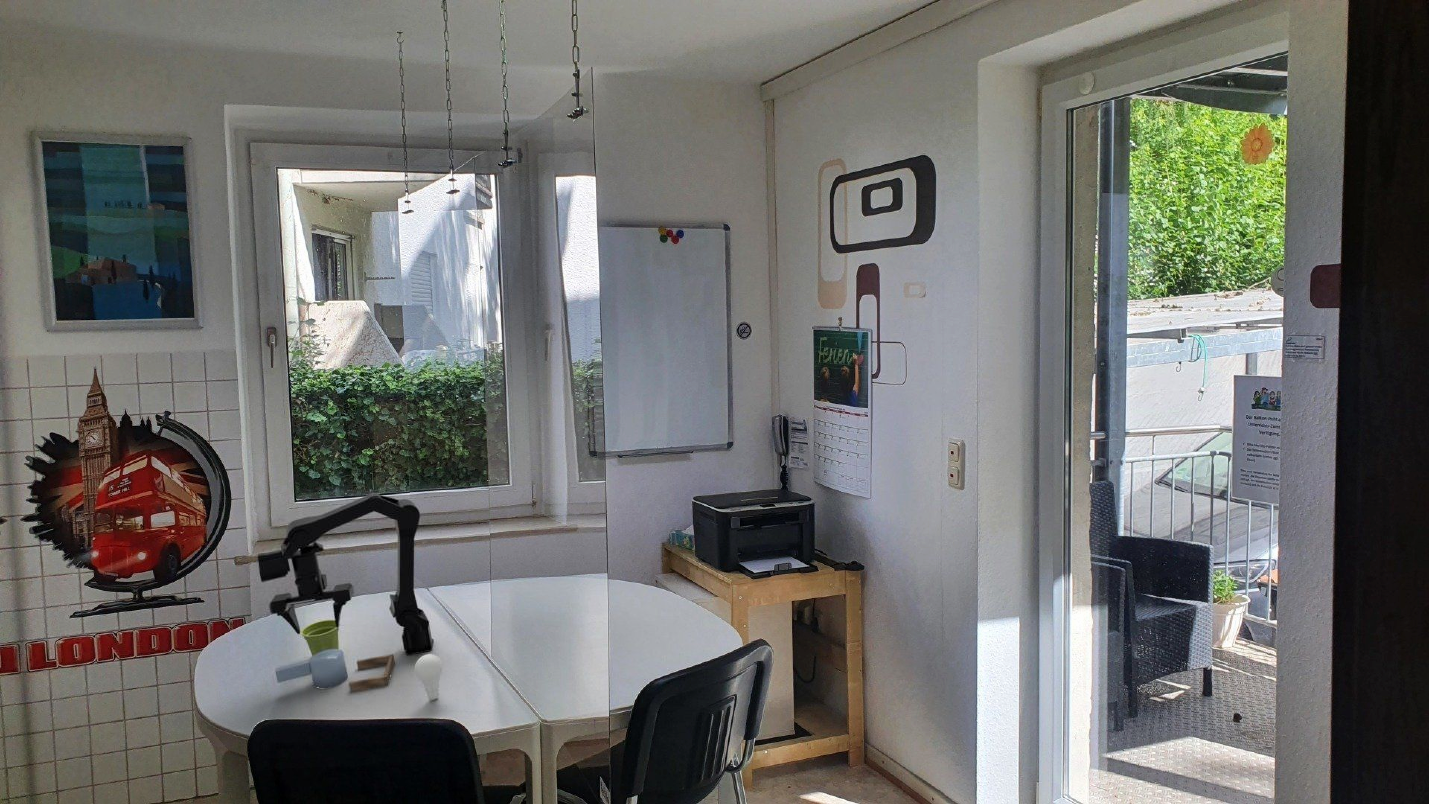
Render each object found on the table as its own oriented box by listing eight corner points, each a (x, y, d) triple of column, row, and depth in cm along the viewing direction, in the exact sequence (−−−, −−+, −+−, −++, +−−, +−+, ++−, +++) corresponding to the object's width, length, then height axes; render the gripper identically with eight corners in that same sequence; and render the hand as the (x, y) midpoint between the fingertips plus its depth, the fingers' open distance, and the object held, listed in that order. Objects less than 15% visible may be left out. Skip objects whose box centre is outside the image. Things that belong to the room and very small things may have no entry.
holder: (394, 661, 245) (393, 653, 245) (388, 685, 233) (386, 676, 232) (358, 668, 243) (357, 660, 243) (350, 692, 231) (348, 683, 231)
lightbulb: (423, 694, 226) (415, 651, 224) (449, 691, 227) (442, 648, 225) (417, 707, 220) (410, 663, 218) (444, 704, 221) (437, 660, 219)
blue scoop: (346, 669, 244) (342, 646, 242) (349, 682, 236) (344, 658, 235) (280, 687, 237) (275, 663, 236) (280, 701, 230) (275, 676, 229)
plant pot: (332, 667, 246) (326, 635, 244) (299, 667, 248) (293, 635, 246) (352, 649, 255) (346, 619, 253) (321, 649, 257) (314, 619, 255)
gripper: (351, 553, 245) (362, 610, 249) (274, 566, 242) (286, 623, 245) (344, 569, 235) (355, 628, 238) (263, 582, 232) (275, 642, 235)
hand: (318, 630), depth 239 cm, fingers open, 9 cm apart
